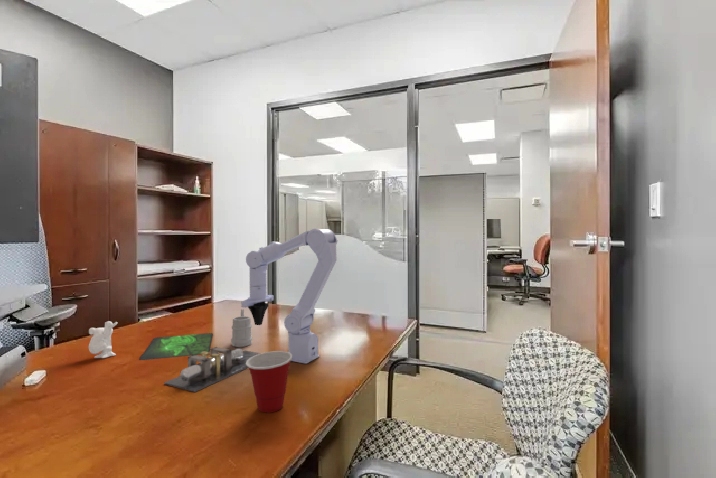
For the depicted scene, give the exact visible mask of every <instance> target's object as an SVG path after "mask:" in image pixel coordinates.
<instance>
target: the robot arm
mask: <svg viewBox="0 0 716 478" xmlns="http://www.w3.org/2000/svg"><path fill="white" fill-rule="evenodd" d="M337 244H338V239H337V237H336V234H335V232H334V231H332V230H331V229H329V228H324V229H323V228H311V229H310V230H306V231H303V232H301V233H300V234H298V235H296V236H294V237H292V238H290V239H288V240H286V241H283V242H282V243H281V242H279V241H270V242H269V245H266V246H264V247H263V246H261V247H259V248H258V250H251V251H250V252H248V253H247V255H246V257H245V263H246V265H247V266H248V267H249V297H247V299H245V300H241V303H240V304H241V305H240V307H241V308H248V309H249V311H250V313H251V316H252V319H253V321H254V322H253V323H254V325H256V326H262V325H263V321H264V317H265V314H266V312H267V311H268V310H267V309H268V308H269V306H270V305H269V302H270V301H271V302H272V301H275V298H274V295H273V294H268V292H267V289H268V287H267V286H268V285H267V283H268V282H267V279H268V278H267V277H268V276H267V274H268V273H267V271H268V265H270V264H272V263H273V262H275V261H277V260H281V259H282V258H283V259H284V258H285V256H286V253H287V252H289V251H292V250H295V249H297V248H300V247H302V246H307V247H308V246H309V248H310V249H311V250H312V252H313V253H314V254H315V256H316V258H317V259H318V261H317V263H316V266H315V267H314V269H313V272H312V273H311V276H310V278H309V280H308V283H307V284H306V286H305V289H304V290H303V293H302V295H301V297H300V299H299V301H298V302H297V304H296V305H295V306H294V307H293V308H292V310H291V312H290V313H289V314H287V315H286V316H285V318H284V320H283V321H284V322H283V323H284V324H283V325H284V327H285V330H286V331H287V334H288V338H287V340H288V348H287V349H288V350H287V352H289V353H291V354H292V360H291V361H290V362H295V363H300V364H309V363H310V362H312V361H314V360H316V359H318V358H320V355H319V336H318V335H317V334H316V333H314V332H312V331H311V325H313V322H314V315H315V312H316V308H315V306H316V304H317V302H318V301H319V298H320V296H321V293H322V292H323V289H324V288H325V285H326V283H327V282H328V279H329V277H330V276H331V273H332V271H333V268H334V267H335V264H337ZM267 302H268V303H267Z"/></svg>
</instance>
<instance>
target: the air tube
mask: <svg viewBox="0 0 716 478" xmlns="http://www.w3.org/2000/svg"><path fill="white" fill-rule="evenodd" d="M243 351H244V350H243V349H242V348H241V347H238V348H236V349H233V350H232V362H233V361H235V360H238V359H240V358H242V357H243ZM206 357H207V356H206ZM207 358H210V371H211V370H214V369H215V357H214V358H212V357H211V356H208V357H207ZM223 365H224V354H222V353H221V354H220V367H221V366H223ZM199 375H202V362H198V363H196V365H193V366H191V367H188V366H187V367H186V368H183V369H182V370H181V371H180V376H181V378H182V380H183V381H187V380H190V379H192V378H195V377H197V376H199Z"/></svg>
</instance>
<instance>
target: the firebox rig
mask: <svg viewBox="0 0 716 478" xmlns="http://www.w3.org/2000/svg"><path fill="white" fill-rule="evenodd" d="M232 351H233V350H232V349H228V348H224V347H222V348H221V347H217V346H214V347H212V348H210V352H205V351H204V352H201V355H191V356H187V358H188V359H187V368H188V367H191V366H193V365H196V364H197V362H198V363H201V362H202V375H199V376H197V377H195V378H192V379H190V380H187V381H183V380H182V378H181V375H178V376H177V377H175V378H171V379H168V380H167V381H165V382H164V383H163V384H164V385H166V386H169V387H174V388H177V389H181V390H185V391H189V392H192V393H197V392H198V391H201V390H203V389H205V388H207V387H209V386H212V385H214V384H216V383H219V382H221V381H222V380H224V379H227V378H229V377H231V376H233V375H235V374H238V373H240V372H242V371H245V370H246V369H249V368H248V366H247V365H246V361H247V360H248V359H249V358H251V357H253V356H255V355H258V354H261V353H262V352H261V353H260V352H255V351H250V350H242V351H243V357H242V358H240V359H238V360H235V361H233V362H232ZM222 354H224V365H223V366H221V367H220V355H222ZM207 356H208V357H209V356H210V357H212V358H214V357H215V369H214V370H211V371H210V358H207Z"/></svg>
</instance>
